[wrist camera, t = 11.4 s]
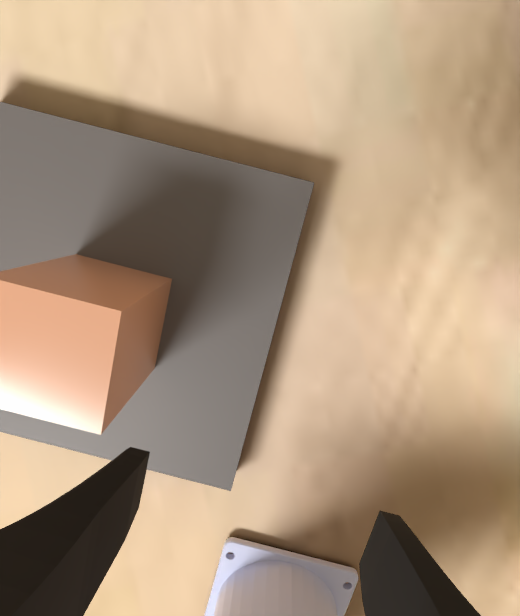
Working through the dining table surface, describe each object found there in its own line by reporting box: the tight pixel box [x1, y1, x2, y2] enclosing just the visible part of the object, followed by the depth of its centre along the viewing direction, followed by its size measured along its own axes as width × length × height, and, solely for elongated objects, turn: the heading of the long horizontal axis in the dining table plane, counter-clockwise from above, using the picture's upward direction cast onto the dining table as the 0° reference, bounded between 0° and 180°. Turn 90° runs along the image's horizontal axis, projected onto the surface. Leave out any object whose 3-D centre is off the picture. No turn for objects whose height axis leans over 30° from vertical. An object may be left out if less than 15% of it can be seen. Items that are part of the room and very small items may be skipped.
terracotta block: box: [0, 254, 172, 435], centre depth 16 cm, size 5×5×6 cm
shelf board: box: [0, 102, 314, 491], centre depth 20 cm, size 16×15×2 cm
